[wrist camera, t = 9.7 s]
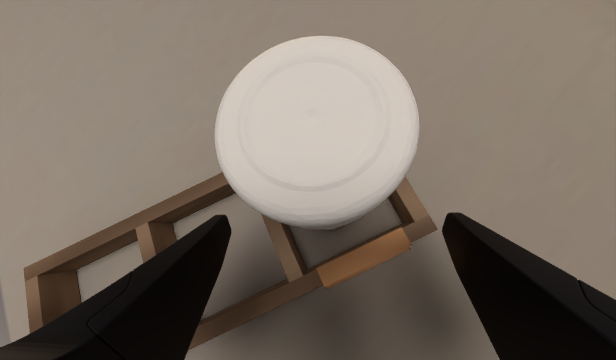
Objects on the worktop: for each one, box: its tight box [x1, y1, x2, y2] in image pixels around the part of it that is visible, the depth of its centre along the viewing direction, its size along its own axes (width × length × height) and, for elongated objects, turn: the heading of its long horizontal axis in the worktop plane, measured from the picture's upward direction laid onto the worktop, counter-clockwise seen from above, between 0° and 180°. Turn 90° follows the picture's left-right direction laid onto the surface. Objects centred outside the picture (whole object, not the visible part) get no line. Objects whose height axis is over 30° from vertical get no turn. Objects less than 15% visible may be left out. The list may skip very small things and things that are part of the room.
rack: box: [24, 172, 438, 350], centre depth 16 cm, size 10×28×3 cm, turn 115°
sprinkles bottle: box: [215, 36, 419, 231], centre depth 11 cm, size 5×5×14 cm
